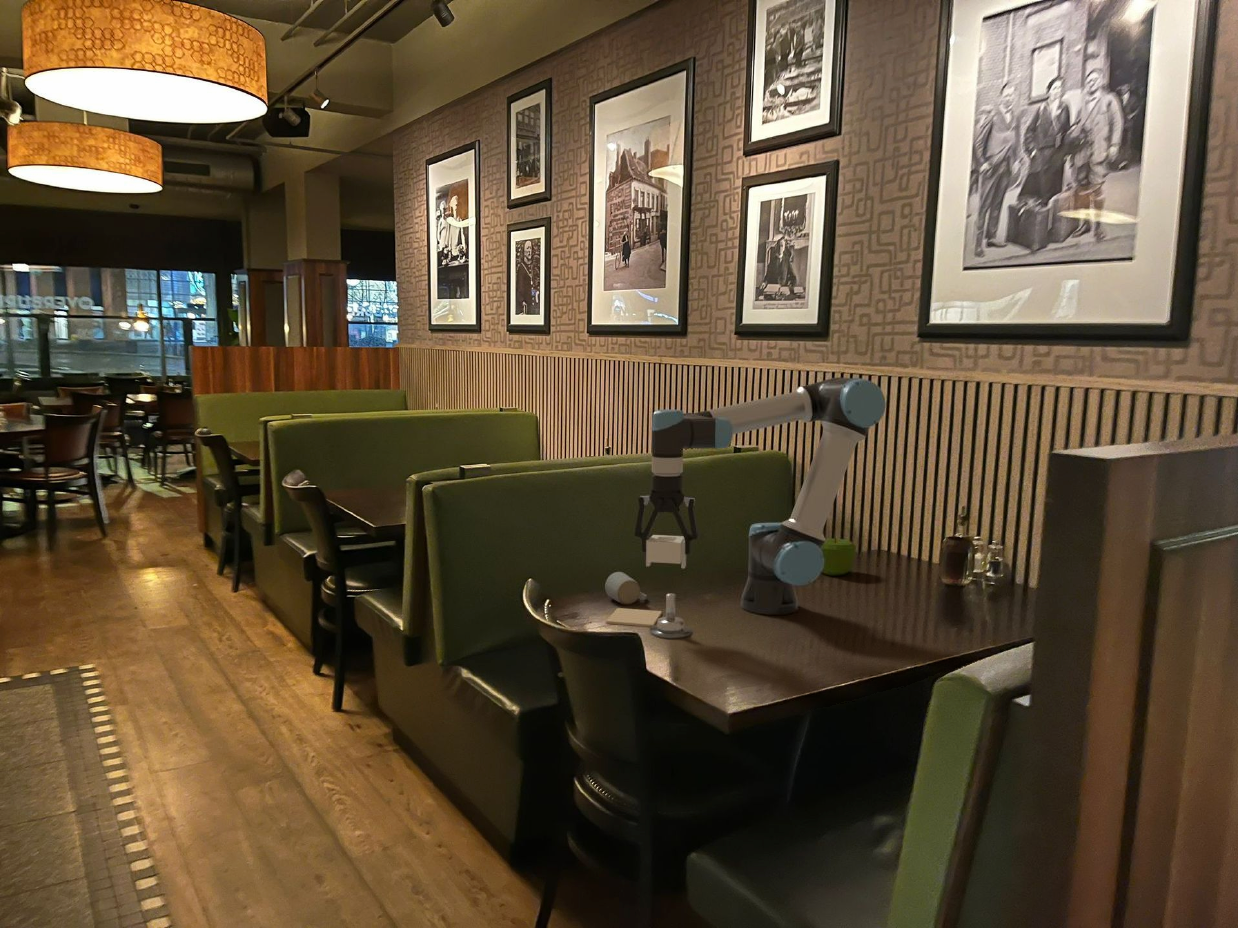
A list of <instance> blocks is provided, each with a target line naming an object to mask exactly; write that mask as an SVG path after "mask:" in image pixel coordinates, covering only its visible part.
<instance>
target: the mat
mask: <svg viewBox="0 0 1238 928" xmlns="http://www.w3.org/2000/svg"><path fill="white" fill-rule="evenodd" d="M662 614H663V612H662V611H661V610H653V609H652V610H649V609H637V608H635V609H634V608H624V607H623V608H621V607H617V608H616V609H615V610H614V611H613V612H612V614H611V615H610V616H609V617H608V618H607V620H606V621H605V622H606V623H605V624H610V625H622V626H624V625H625V626H632V627H633V626H635V627H648V628H651V627H653V626H655V625H656V622H657V620H658V619H659V618H661V616H662Z"/></svg>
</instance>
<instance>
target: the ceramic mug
mask: <svg viewBox="0 0 1238 928" xmlns="http://www.w3.org/2000/svg"><path fill="white" fill-rule="evenodd" d="M604 589H605V592H606V595H607V596H608V597H609V598H611V599H613V600H615V601H616V602H618V603H620V604H621V605H625V606H626V605H633V604H634V603H635V602H637V600H640V601H643V602H644V601H646V599H647V594H645V593H644V592H641V588H640V585H639V584H638V582H637V581H636V580H635V579H633V578H632V577H630V576H629V575H628V574H626V573H624V572H623V571H616V572H613V573H611V574H610V575H609V576H608V578H607V579H606V581H605V585H604Z"/></svg>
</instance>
